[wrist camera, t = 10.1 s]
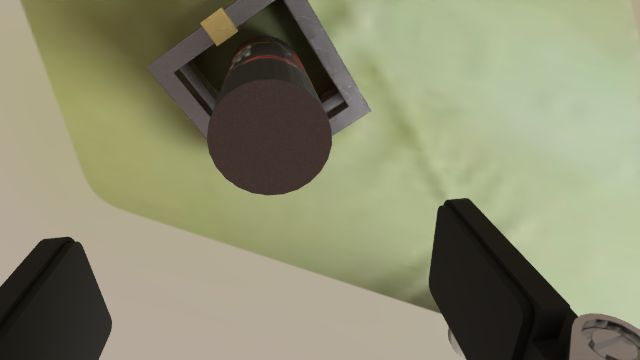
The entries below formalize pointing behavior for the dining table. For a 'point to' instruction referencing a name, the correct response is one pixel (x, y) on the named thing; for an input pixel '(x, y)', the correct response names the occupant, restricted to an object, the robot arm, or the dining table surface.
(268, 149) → the deodorant
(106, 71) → the dining table surface
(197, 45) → the grey open cube frame
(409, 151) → the dining table surface
